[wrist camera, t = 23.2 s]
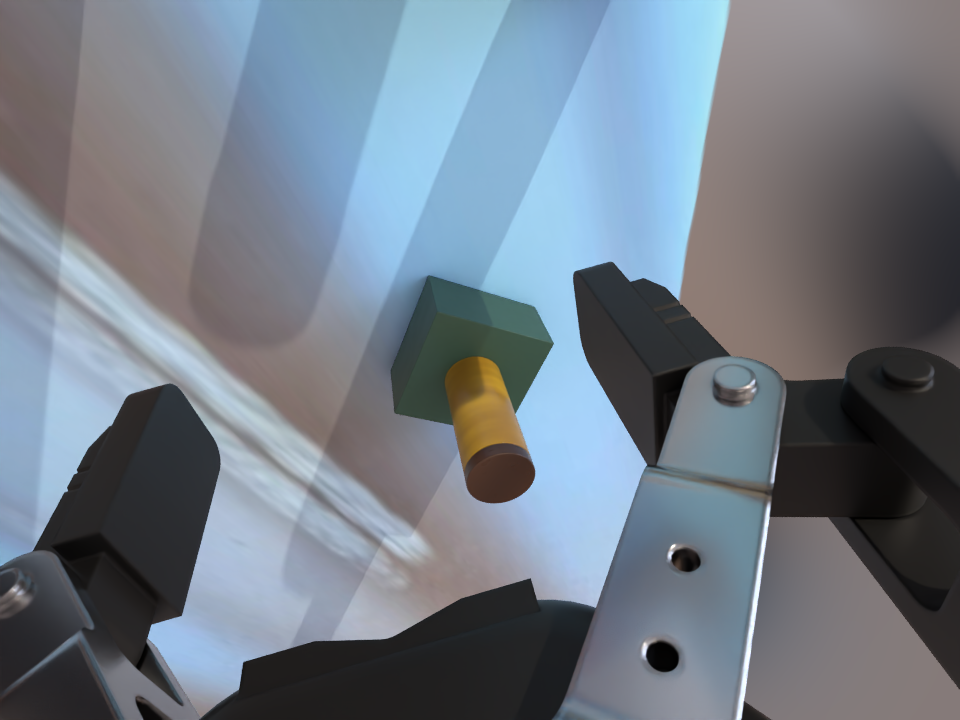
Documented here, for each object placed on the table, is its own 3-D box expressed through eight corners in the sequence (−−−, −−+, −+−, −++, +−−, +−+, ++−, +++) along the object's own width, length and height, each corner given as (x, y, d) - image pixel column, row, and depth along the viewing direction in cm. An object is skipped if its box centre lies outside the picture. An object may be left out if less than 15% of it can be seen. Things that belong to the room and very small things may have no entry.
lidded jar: (436, 395, 47) (455, 498, 38) (457, 350, 45) (483, 447, 36) (487, 407, 48) (517, 507, 39) (509, 363, 46) (547, 460, 37)
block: (390, 371, 52) (394, 413, 47) (428, 275, 47) (437, 311, 42) (490, 393, 55) (503, 435, 51) (534, 306, 51) (554, 343, 46)
